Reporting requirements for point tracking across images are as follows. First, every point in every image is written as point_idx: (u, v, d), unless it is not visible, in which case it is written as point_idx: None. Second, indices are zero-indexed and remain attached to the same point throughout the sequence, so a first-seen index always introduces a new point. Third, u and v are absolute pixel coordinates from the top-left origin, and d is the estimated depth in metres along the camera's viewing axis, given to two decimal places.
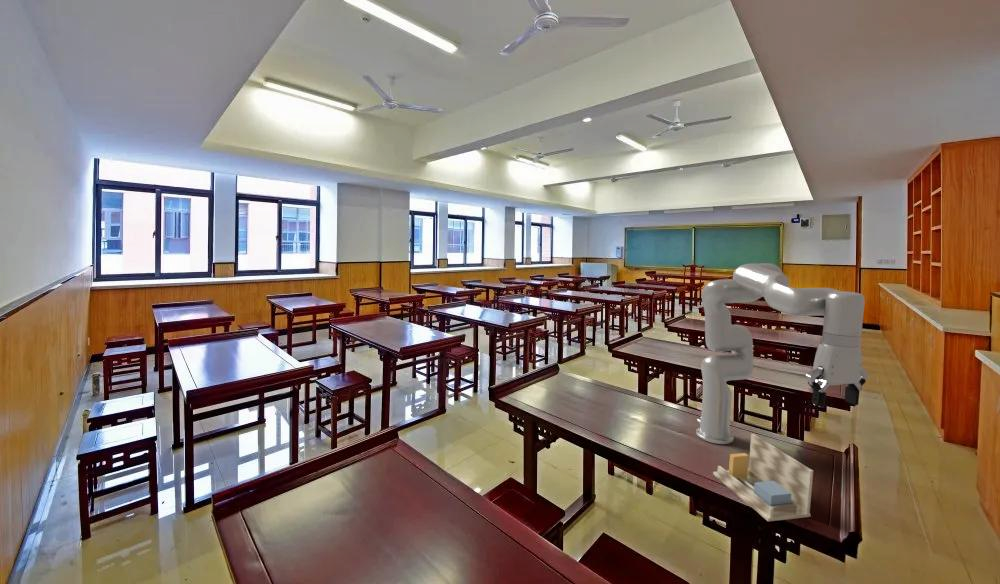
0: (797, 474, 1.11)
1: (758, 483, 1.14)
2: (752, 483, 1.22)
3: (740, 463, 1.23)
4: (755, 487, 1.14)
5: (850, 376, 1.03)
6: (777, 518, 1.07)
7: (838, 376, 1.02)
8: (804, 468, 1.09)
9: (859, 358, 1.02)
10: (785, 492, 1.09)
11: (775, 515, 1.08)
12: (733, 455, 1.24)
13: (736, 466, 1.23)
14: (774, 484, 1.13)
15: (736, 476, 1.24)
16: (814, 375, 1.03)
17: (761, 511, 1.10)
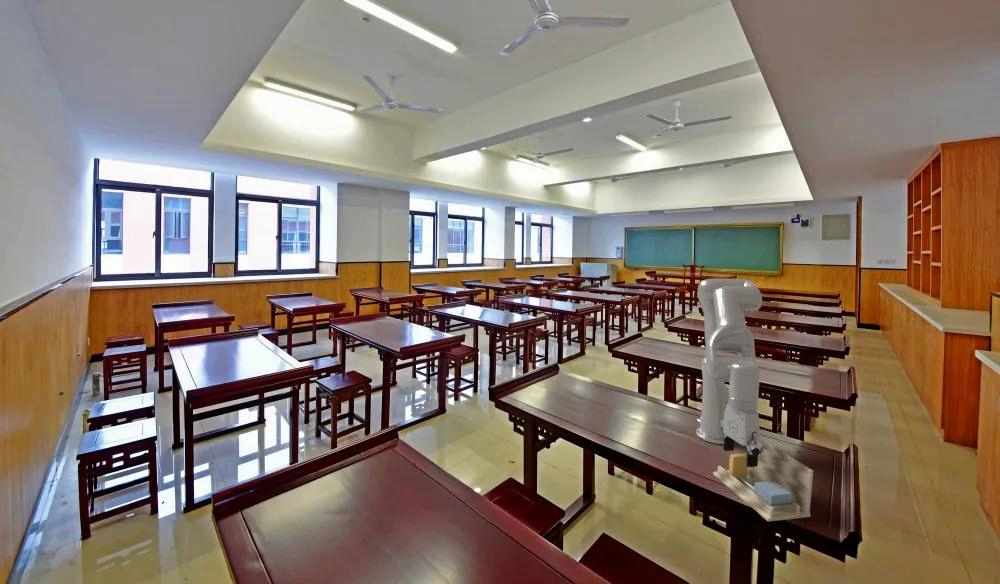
0: (797, 474, 1.11)
1: (758, 483, 1.14)
2: (752, 483, 1.22)
3: (740, 463, 1.23)
4: (755, 487, 1.14)
5: None
6: (777, 518, 1.07)
7: None
8: (804, 468, 1.09)
9: None
10: (785, 492, 1.09)
11: (775, 515, 1.08)
12: (733, 455, 1.24)
13: (736, 466, 1.23)
14: (774, 484, 1.13)
15: (736, 476, 1.24)
16: None
17: (761, 511, 1.10)
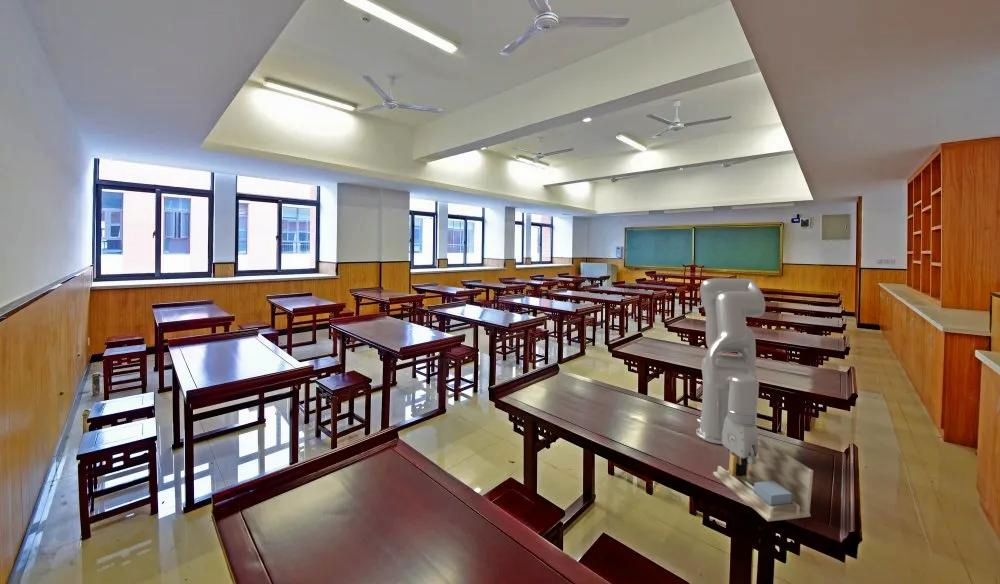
0: (797, 474, 1.11)
1: (758, 483, 1.14)
2: (752, 483, 1.22)
3: None
4: (755, 487, 1.14)
5: None
6: (777, 518, 1.07)
7: None
8: (804, 468, 1.09)
9: None
10: (785, 492, 1.09)
11: (775, 515, 1.08)
12: (733, 455, 1.24)
13: None
14: (774, 484, 1.13)
15: (736, 476, 1.24)
16: None
17: (761, 511, 1.10)
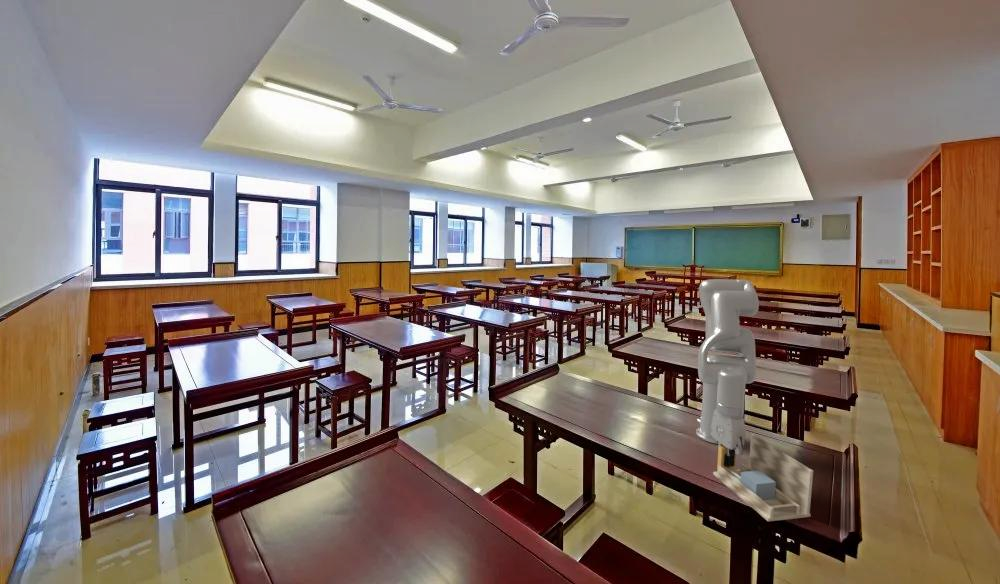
0: (797, 474, 1.11)
1: (744, 473, 1.19)
2: None
3: None
4: (741, 476, 1.19)
5: None
6: (777, 518, 1.07)
7: None
8: (804, 468, 1.09)
9: None
10: (770, 481, 1.15)
11: (775, 515, 1.08)
12: (721, 446, 1.29)
13: None
14: (759, 473, 1.18)
15: (724, 467, 1.29)
16: None
17: (761, 511, 1.10)
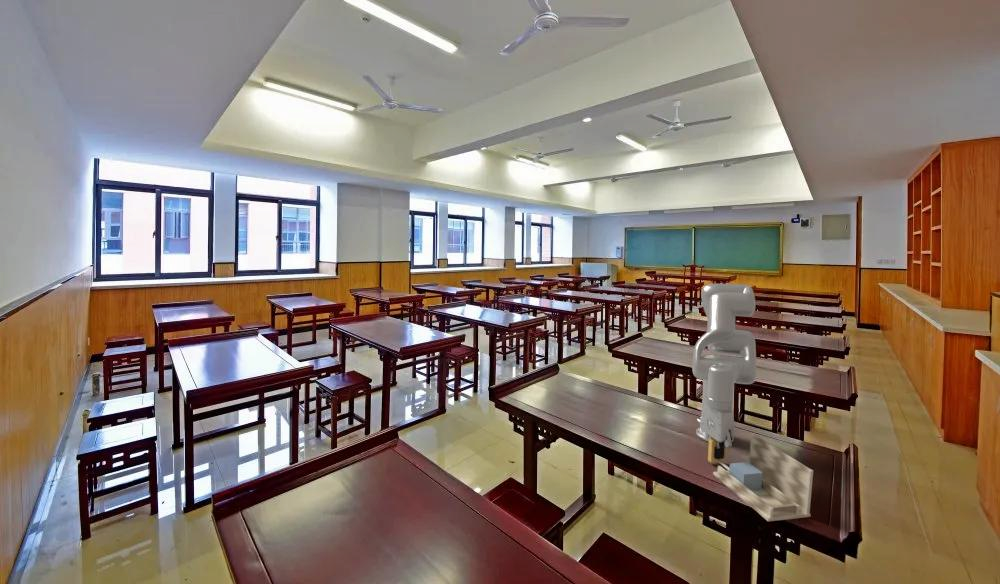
0: (797, 474, 1.11)
1: (733, 464, 1.23)
2: None
3: None
4: (730, 468, 1.24)
5: None
6: (777, 518, 1.07)
7: None
8: (804, 468, 1.09)
9: None
10: (757, 471, 1.19)
11: (775, 515, 1.08)
12: (712, 439, 1.33)
13: None
14: (747, 465, 1.23)
15: (714, 459, 1.34)
16: None
17: (761, 511, 1.10)
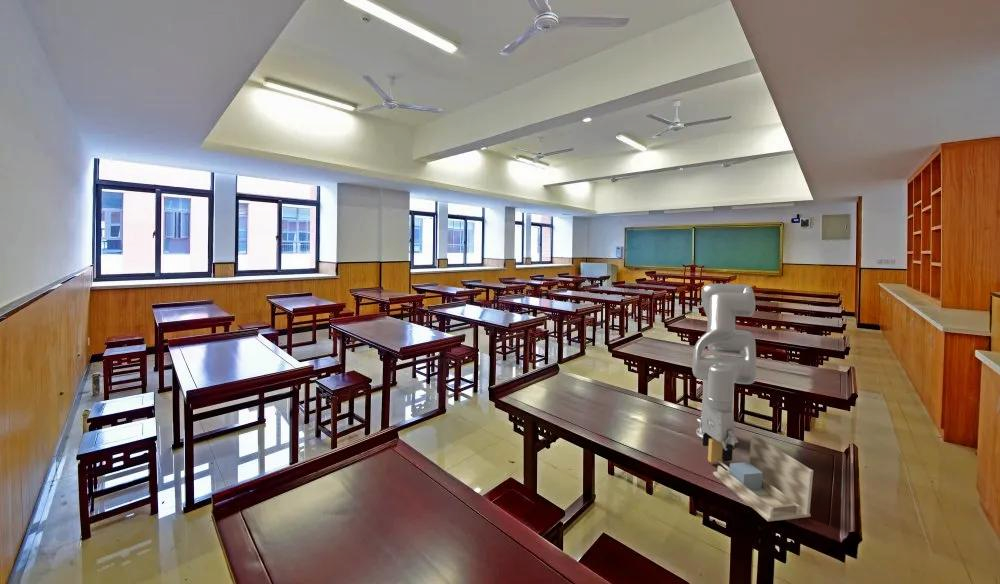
0: (797, 474, 1.11)
1: (733, 464, 1.23)
2: None
3: (718, 447, 1.33)
4: (730, 468, 1.24)
5: None
6: (777, 518, 1.07)
7: None
8: (804, 468, 1.09)
9: None
10: (757, 471, 1.19)
11: (775, 515, 1.08)
12: (712, 439, 1.34)
13: (714, 449, 1.33)
14: (747, 464, 1.23)
15: (714, 459, 1.34)
16: None
17: (761, 511, 1.10)
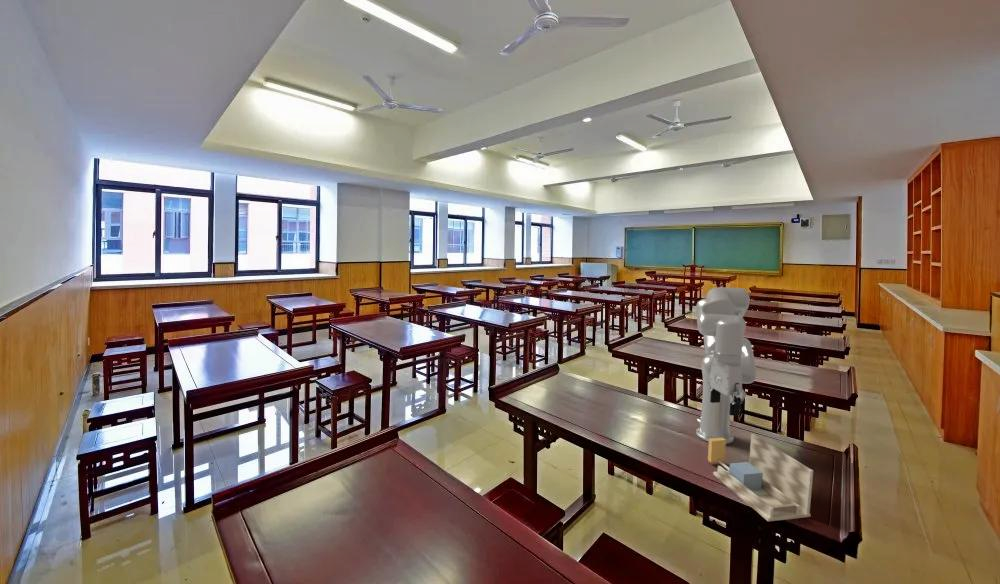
0: (797, 474, 1.11)
1: (733, 464, 1.23)
2: None
3: (718, 447, 1.33)
4: (730, 468, 1.24)
5: None
6: (777, 518, 1.07)
7: None
8: (804, 468, 1.09)
9: None
10: (757, 471, 1.19)
11: (775, 515, 1.08)
12: (712, 439, 1.34)
13: (714, 449, 1.33)
14: (747, 464, 1.23)
15: (714, 459, 1.34)
16: None
17: (761, 511, 1.10)
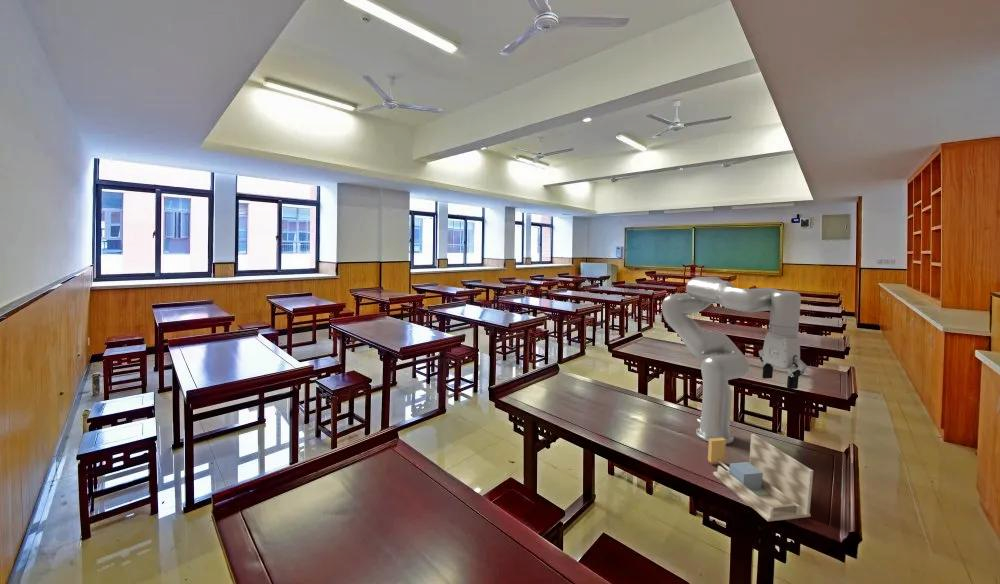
0: (797, 474, 1.11)
1: (733, 464, 1.23)
2: None
3: (718, 447, 1.33)
4: (730, 468, 1.24)
5: None
6: (777, 518, 1.07)
7: None
8: (804, 468, 1.09)
9: None
10: (757, 471, 1.19)
11: (775, 515, 1.08)
12: (712, 439, 1.34)
13: (714, 449, 1.33)
14: (747, 464, 1.23)
15: (714, 459, 1.34)
16: None
17: (761, 511, 1.10)
